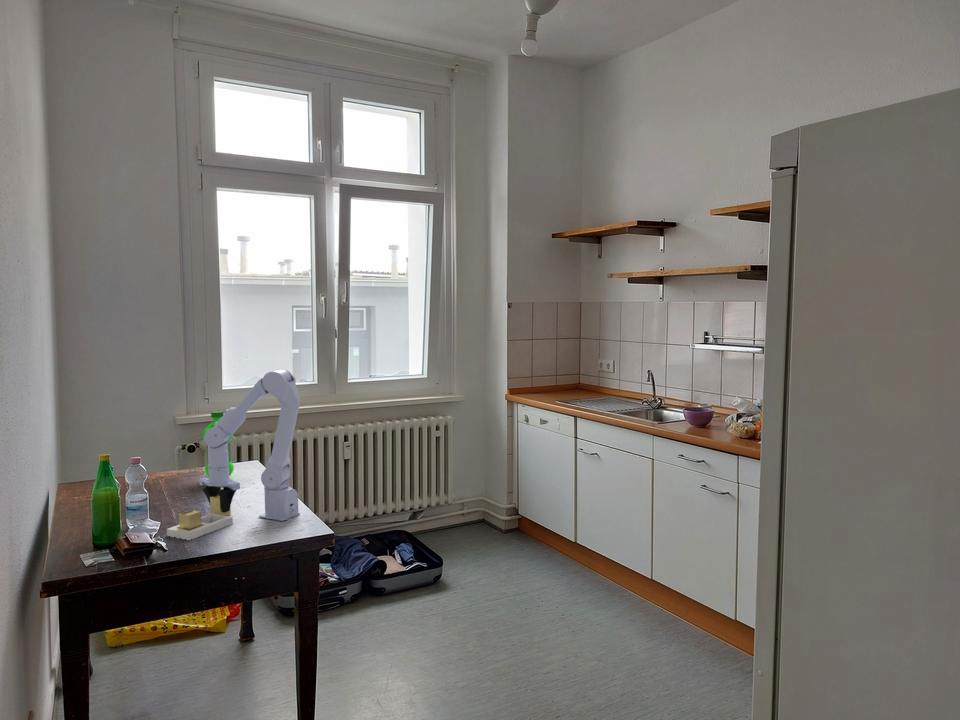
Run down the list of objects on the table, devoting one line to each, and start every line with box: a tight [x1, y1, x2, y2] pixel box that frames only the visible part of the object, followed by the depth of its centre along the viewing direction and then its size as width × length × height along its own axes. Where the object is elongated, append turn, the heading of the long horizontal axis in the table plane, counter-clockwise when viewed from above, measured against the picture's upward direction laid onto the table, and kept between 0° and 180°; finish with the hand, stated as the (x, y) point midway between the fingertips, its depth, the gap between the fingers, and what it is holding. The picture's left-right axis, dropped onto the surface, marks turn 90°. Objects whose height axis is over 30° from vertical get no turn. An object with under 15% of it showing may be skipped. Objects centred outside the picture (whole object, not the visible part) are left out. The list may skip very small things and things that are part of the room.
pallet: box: [166, 512, 234, 541], centre depth 191 cm, size 8×16×2 cm, turn 155°
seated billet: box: [178, 509, 202, 531], centre depth 188 cm, size 4×4×6 cm
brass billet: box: [209, 494, 232, 516], centre depth 204 cm, size 4×4×6 cm
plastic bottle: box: [202, 410, 235, 478], centre depth 246 cm, size 10×10×25 cm
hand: (220, 510), depth 204 cm, fingers closed on brass billet, 4 cm apart
